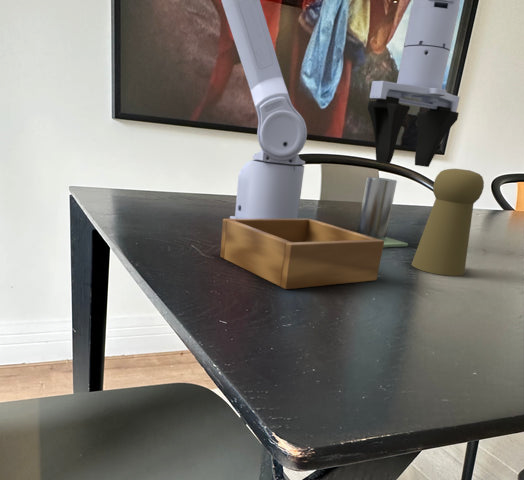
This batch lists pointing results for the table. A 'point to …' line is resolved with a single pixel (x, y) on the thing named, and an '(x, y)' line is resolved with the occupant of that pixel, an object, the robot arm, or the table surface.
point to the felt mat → (393, 243)
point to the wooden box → (300, 251)
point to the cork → (449, 223)
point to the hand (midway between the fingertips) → (402, 164)
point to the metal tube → (376, 207)
